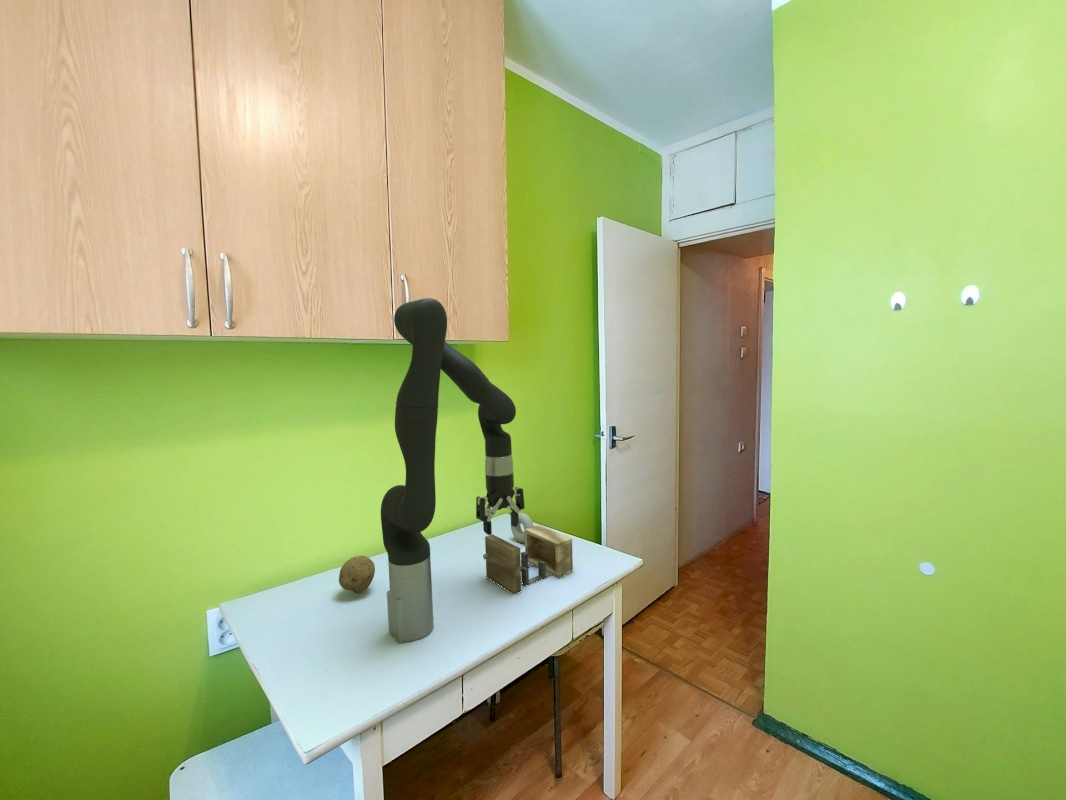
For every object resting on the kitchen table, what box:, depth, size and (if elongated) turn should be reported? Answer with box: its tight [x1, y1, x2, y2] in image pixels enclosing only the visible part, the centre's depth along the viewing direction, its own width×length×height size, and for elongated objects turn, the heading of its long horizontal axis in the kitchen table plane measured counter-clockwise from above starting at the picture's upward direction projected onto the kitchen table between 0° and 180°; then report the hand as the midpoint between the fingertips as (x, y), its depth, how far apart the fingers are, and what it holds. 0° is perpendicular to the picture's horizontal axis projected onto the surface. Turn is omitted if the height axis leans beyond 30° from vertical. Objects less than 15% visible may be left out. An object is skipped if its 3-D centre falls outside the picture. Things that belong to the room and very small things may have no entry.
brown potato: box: [338, 555, 376, 594], centre depth 123 cm, size 9×9×10 cm
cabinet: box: [520, 524, 574, 586], centre depth 133 cm, size 15×15×10 cm
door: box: [482, 533, 522, 595], centre depth 125 cm, size 4×13×12 cm, turn 39°
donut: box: [510, 512, 535, 544], centre depth 155 cm, size 10×4×10 cm, turn 45°
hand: (501, 529), depth 125 cm, fingers open, 8 cm apart
